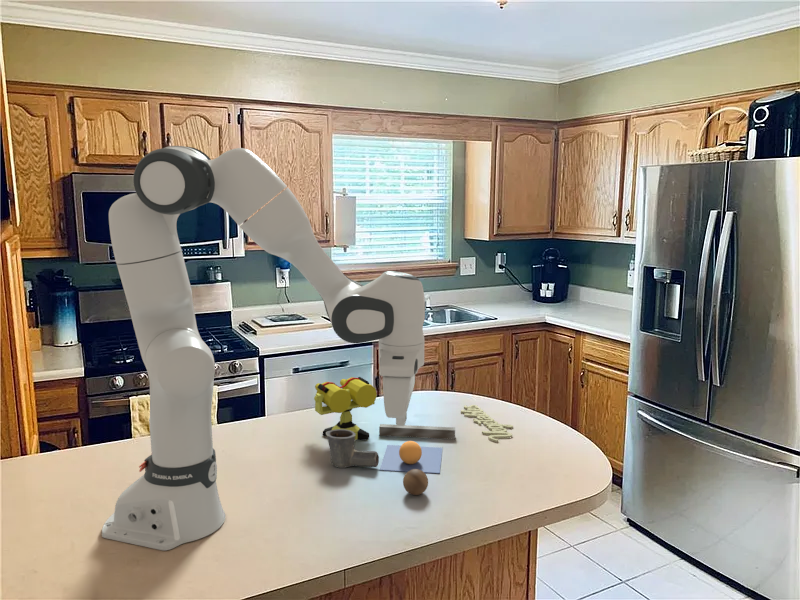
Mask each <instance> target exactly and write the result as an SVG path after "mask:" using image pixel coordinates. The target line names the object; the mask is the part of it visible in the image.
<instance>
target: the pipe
mask: <svg viewBox="0 0 800 600" xmlns="http://www.w3.org/2000/svg"><path fill="white" fill-rule="evenodd" d="M355 436H356V434H355V433H354V432H353V431H351V430H346V429H335V430H330V431H327V432H326V436H325V437H326V439H327V442H328V443H327V444H328V447H329V454H330V462H331V465H332V466H333V467H336V468H339V469H340V468H341V469H343V468H344V469H345V468H349V467H362V468H377V467H378V466H379V462H380V460H379V459H380V456H379V453H378V452H377V451H376V450H357V449H355V441H356V440H355Z"/></svg>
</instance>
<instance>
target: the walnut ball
mask: <svg viewBox="0 0 800 600" xmlns="http://www.w3.org/2000/svg"><path fill="white" fill-rule="evenodd" d="M426 474H427V473H424V472H423V471H421V470H419V469H412V470H410V471H408V472H405V474H404V476H403V479H402V484H403V488H404V489H405V491H406V492H407V493H408V494H410V495H411V496H419V495H423V493H425V492H426V490H427V488H428V486H429V479H428V476H427V475H426Z"/></svg>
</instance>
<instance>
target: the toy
mask: <svg viewBox="0 0 800 600" xmlns="http://www.w3.org/2000/svg"><path fill="white" fill-rule="evenodd" d="M339 384H340V385H341V386H339V385H337V384H336V383H335V382H332V381H325V382H322V383H318V382H317V383H316V384H315V386H314V388H315V390H316V393H315V395H314V398H313V400H314V402H315V404H314V411H315V412H316V413H318V414H319V415H320V416H323V415H327V414H333V413H336V414H337V413H338V414H340V416H339V421H338V422H337V423H336V424H335V425H334V426H331V427H326V428H324V430H322V437H324V436H325V437H327V436H326V432H327V431H330V430H335V429H346V430H351V431H353V432H354V433H355V434H356V436H355V441H357V440H358V441H359V440H361V441H368V440H369V439H370V433H369V432H368V431H366V430H364V429H363V428H360V427H359V426H358V425H357V424H356V423H354V422H353V414H352V412H351V411H352V410H353V409H357V408H369V407H370V406H372V405H375V403H376V402H375V401H376V399H377V390H376V387H374V386H373V385H372V384H371V383H370V382H369V381H368V380H366V379H365V378H363V377H361V376H357V377H352V376H351V377H349V378H346V379H345V378H342V379H340V382H339ZM323 404H324V406H323Z"/></svg>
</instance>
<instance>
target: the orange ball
mask: <svg viewBox="0 0 800 600" xmlns="http://www.w3.org/2000/svg"><path fill="white" fill-rule="evenodd" d="M400 446H401V447H400V450H399V455H400V458H401V460H402V461H403V462H405V463H407V464H414V463H416V462H418V461H419V460H420V458H421V455H422V450H421V447H422V446H420V444H419V443H418V442H416V441H414V440H407V441H405V442H403V443H402V444H401V445H400Z"/></svg>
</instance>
